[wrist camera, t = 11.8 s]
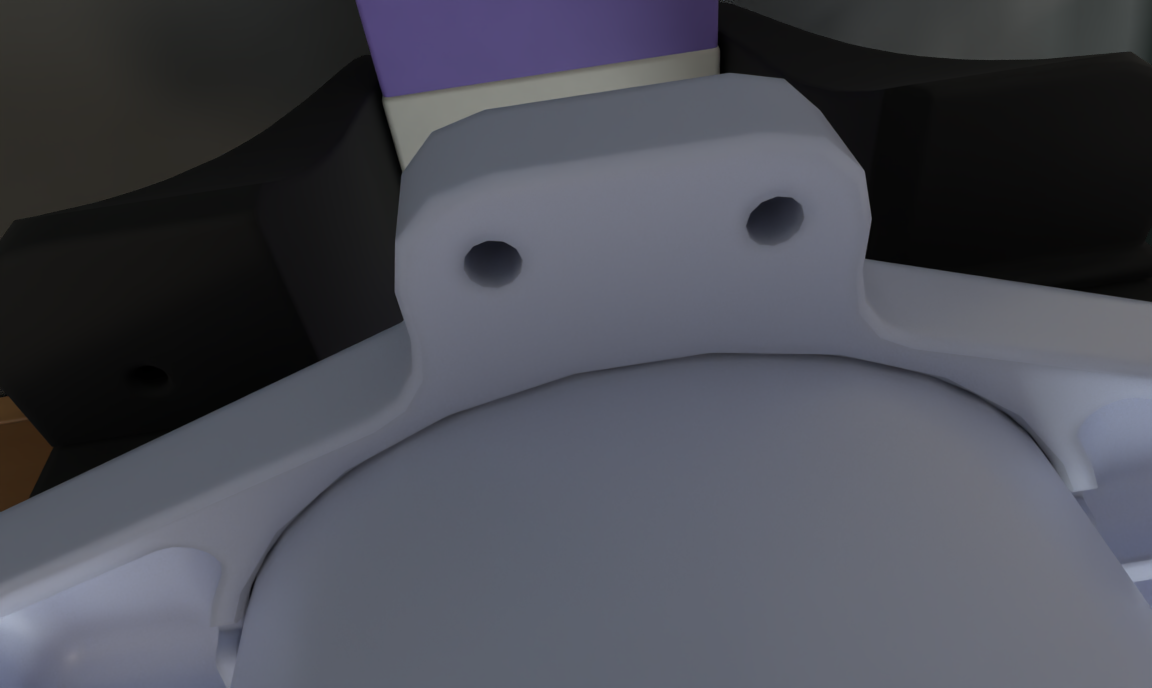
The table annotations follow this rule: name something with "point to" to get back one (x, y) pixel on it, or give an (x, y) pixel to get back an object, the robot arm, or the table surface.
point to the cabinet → (19, 455)
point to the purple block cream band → (525, 54)
